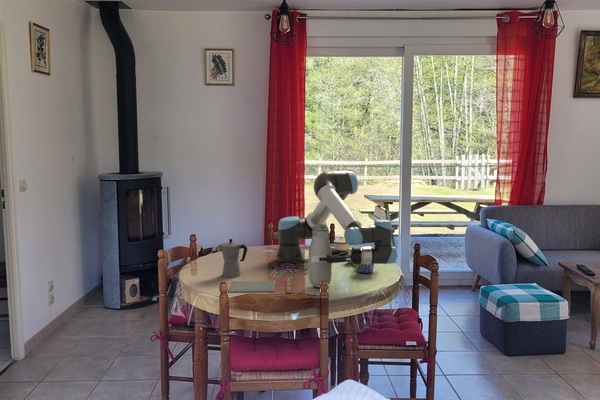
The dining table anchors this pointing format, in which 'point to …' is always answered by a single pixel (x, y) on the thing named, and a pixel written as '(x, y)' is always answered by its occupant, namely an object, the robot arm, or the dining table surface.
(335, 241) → the teacup with lid
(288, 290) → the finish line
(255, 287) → the mat
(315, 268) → the grey green rounded cylinder
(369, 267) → the snack cup
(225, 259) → the coffeepot
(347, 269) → the dining table surface
